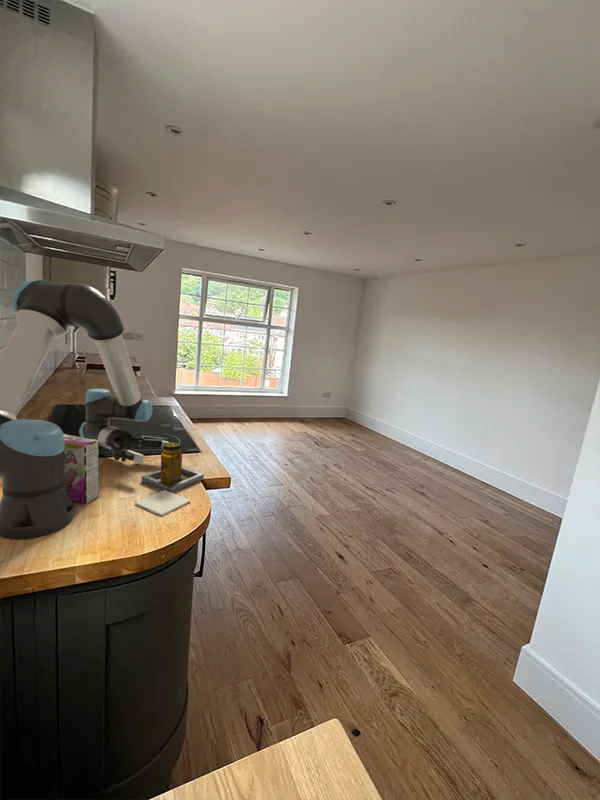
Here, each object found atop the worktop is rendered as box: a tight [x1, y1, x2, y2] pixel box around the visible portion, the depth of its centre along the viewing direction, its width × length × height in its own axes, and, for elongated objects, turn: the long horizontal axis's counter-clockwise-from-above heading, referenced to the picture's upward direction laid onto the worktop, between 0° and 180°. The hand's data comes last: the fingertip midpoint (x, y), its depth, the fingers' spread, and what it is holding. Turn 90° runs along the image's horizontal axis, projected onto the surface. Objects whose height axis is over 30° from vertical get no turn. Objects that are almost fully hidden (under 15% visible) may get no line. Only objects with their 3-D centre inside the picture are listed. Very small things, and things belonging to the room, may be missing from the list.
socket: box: [141, 466, 205, 493], centre depth 115 cm, size 13×12×2 cm
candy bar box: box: [63, 433, 100, 505], centre depth 98 cm, size 11×5×16 cm, turn 79°
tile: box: [134, 490, 192, 517], centre depth 101 cm, size 10×10×1 cm
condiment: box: [158, 441, 189, 485], centre depth 114 cm, size 7×8×12 cm
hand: (160, 454), depth 118 cm, fingers open, 13 cm apart
